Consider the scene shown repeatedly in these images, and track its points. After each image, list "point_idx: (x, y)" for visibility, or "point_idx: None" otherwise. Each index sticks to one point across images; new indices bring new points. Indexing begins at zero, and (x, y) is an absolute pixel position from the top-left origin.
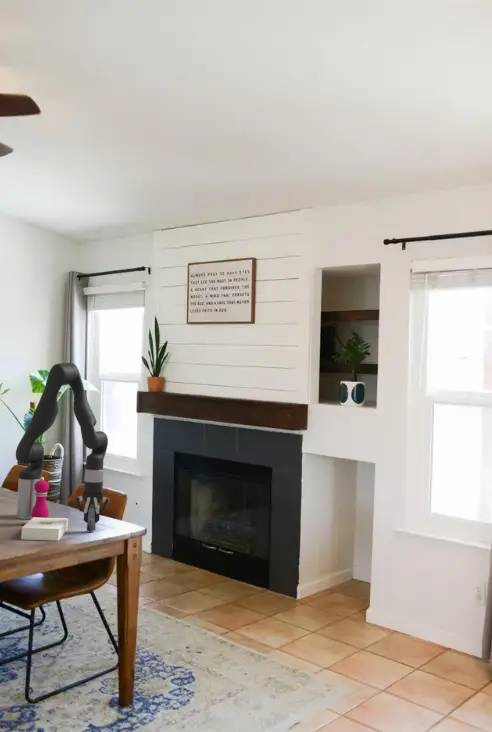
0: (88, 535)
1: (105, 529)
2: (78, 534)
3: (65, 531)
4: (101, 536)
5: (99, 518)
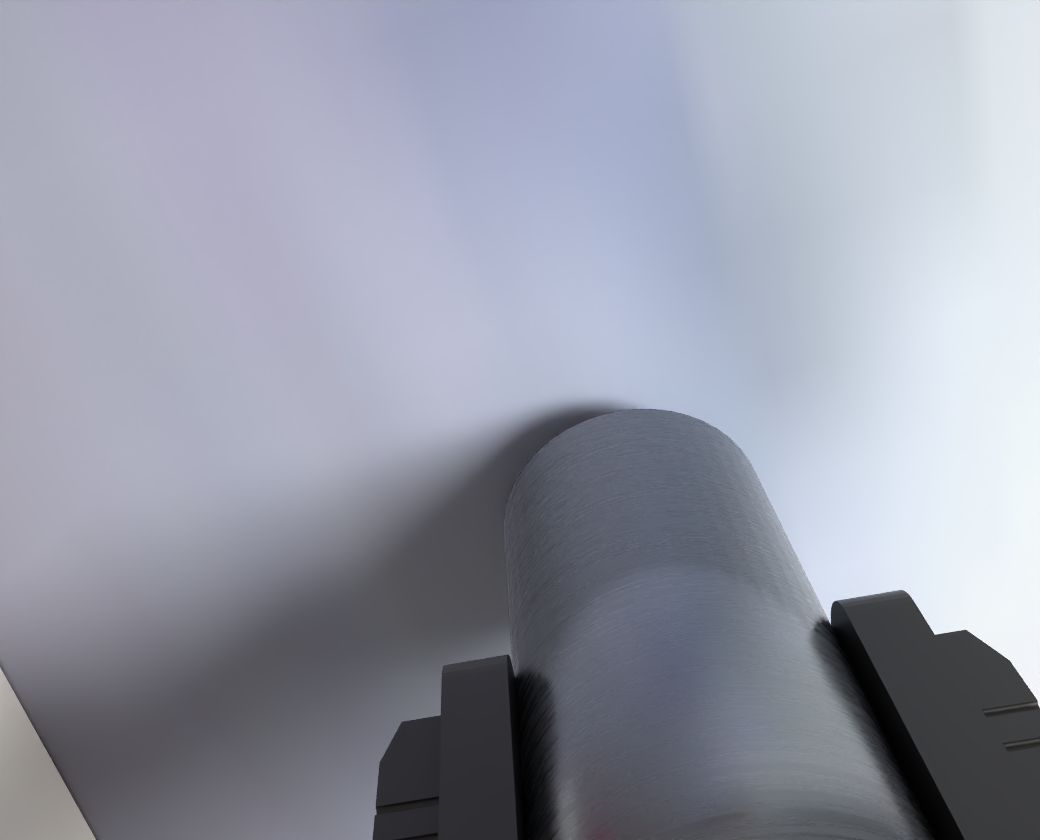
0: None
1: (1014, 34)
2: None
3: (6, 691)
4: None
5: (1031, 694)
